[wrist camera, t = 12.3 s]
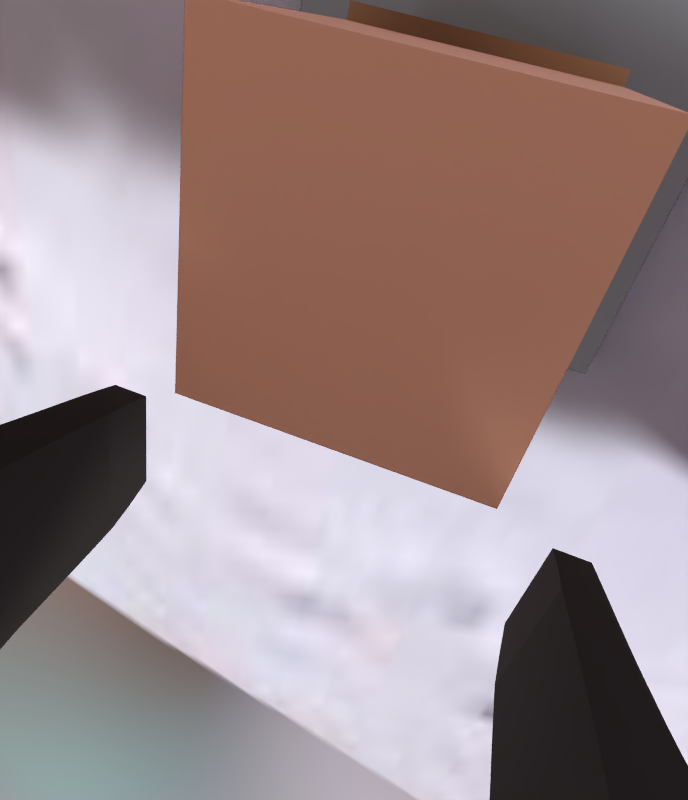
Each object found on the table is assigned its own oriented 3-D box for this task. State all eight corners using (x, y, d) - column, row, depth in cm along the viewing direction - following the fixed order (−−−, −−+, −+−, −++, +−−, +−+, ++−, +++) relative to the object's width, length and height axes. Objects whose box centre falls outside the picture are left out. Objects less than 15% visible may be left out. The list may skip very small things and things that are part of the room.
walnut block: (603, 65, 12) (631, 69, 8) (525, 256, 15) (517, 330, 11) (411, 17, 13) (350, 0, 9) (368, 208, 16) (305, 262, 11)
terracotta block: (623, 86, 8) (695, 114, 4) (515, 341, 11) (497, 508, 7) (346, 20, 9) (185, -11, 5) (305, 275, 12) (175, 392, 8)
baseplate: (801, -61, 11) (817, -68, 10) (583, 361, 17) (584, 373, 16) (333, -152, 12) (321, -163, 12) (278, 266, 18) (268, 273, 18)
